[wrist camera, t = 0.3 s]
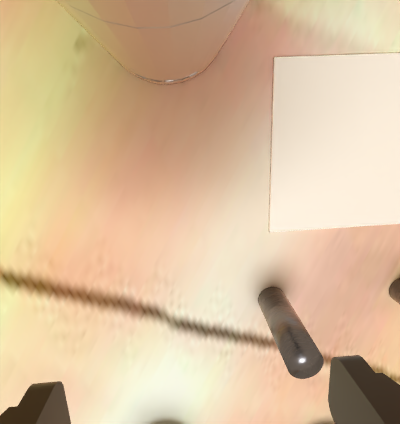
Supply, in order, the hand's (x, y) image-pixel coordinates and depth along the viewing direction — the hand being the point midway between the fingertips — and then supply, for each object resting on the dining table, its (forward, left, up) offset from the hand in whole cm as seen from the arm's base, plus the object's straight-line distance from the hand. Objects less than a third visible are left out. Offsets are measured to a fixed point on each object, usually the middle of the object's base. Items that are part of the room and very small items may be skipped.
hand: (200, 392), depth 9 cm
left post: (+9, +8, -17) cm, 21 cm away
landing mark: (-5, +14, -17) cm, 23 cm away
